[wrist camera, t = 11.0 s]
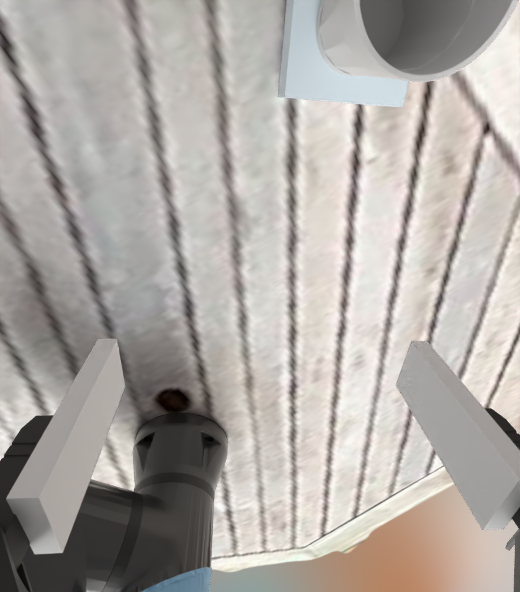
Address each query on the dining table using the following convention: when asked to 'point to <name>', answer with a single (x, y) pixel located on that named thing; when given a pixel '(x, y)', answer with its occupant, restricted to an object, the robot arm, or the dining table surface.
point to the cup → (407, 35)
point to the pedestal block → (325, 67)
